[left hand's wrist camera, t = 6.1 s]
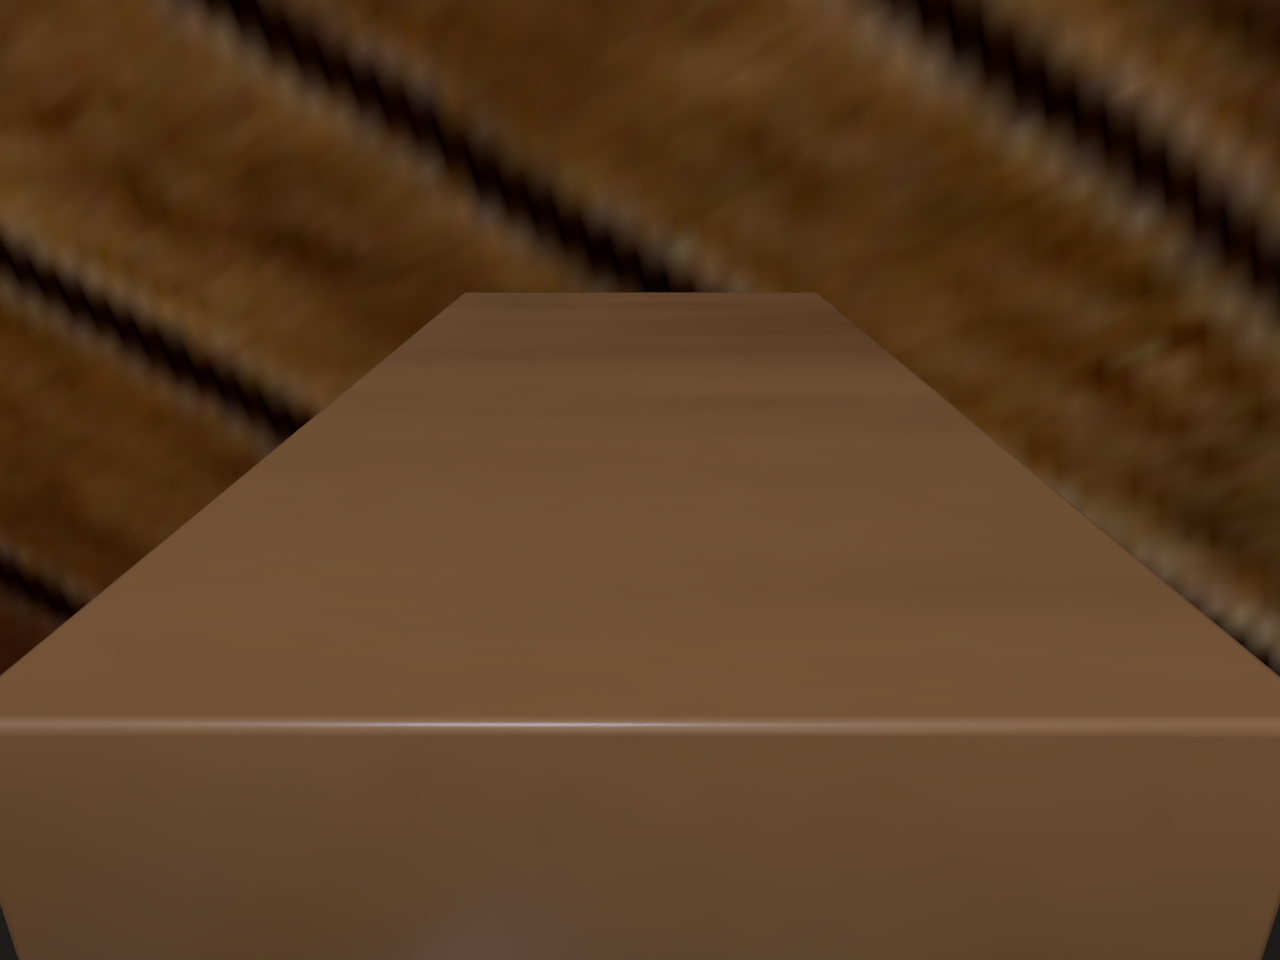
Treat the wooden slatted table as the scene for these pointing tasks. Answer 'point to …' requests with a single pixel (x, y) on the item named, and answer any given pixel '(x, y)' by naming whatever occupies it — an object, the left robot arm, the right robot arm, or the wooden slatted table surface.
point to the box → (639, 680)
